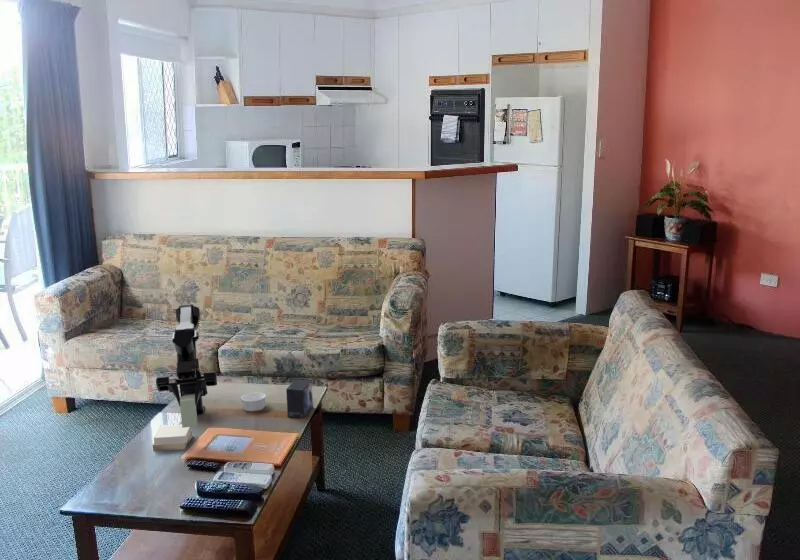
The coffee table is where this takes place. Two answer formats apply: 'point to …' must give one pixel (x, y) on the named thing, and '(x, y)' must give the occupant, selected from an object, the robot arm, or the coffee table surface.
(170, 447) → the tower base slab
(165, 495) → the coffee table surface
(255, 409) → the ramekin
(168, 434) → the tower top slab
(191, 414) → the sage block
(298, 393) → the small box
